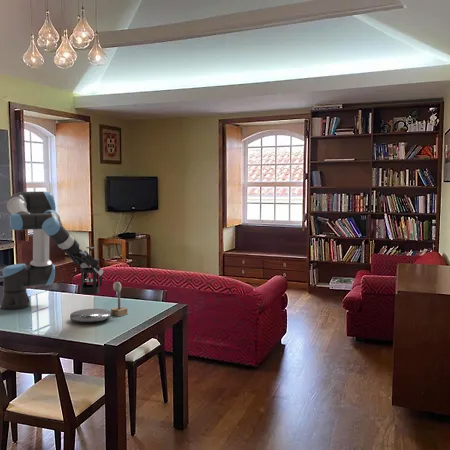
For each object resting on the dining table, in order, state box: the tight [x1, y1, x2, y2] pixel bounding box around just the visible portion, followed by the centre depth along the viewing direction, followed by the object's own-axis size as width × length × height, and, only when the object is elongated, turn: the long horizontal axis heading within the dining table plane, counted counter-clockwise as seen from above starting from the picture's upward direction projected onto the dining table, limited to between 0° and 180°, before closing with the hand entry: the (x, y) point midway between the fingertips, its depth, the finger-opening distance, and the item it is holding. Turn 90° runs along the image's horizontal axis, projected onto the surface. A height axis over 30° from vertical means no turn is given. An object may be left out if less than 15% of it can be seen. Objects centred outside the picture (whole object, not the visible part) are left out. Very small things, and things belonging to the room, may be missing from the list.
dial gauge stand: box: [110, 281, 128, 317], centre depth 248 cm, size 6×6×18 cm
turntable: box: [69, 308, 112, 323], centre depth 238 cm, size 20×20×2 cm
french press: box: [79, 246, 103, 296], centre depth 236 cm, size 12×9×23 cm
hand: (95, 272), depth 238 cm, fingers closed on french press, 9 cm apart
